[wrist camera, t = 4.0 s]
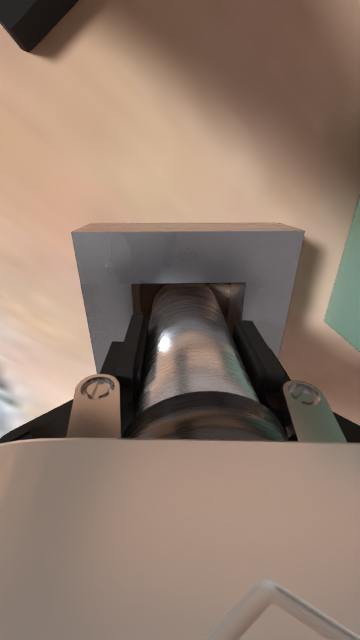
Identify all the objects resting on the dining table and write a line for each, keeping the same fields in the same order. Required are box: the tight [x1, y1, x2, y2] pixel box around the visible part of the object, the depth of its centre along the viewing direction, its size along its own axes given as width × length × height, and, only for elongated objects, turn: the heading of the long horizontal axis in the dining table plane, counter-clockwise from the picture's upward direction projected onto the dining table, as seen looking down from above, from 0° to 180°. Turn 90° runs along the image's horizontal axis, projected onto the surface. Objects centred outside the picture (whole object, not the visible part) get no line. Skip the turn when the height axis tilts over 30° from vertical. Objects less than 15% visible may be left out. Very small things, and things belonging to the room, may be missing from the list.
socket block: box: [71, 223, 305, 374], centre depth 15 cm, size 10×10×3 cm
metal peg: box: [122, 283, 289, 441], centre depth 11 cm, size 5×5×12 cm
